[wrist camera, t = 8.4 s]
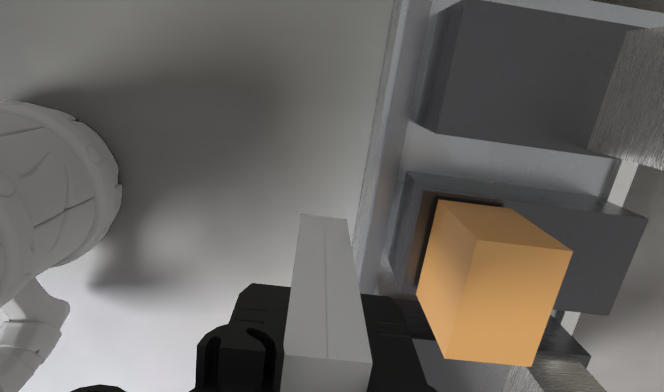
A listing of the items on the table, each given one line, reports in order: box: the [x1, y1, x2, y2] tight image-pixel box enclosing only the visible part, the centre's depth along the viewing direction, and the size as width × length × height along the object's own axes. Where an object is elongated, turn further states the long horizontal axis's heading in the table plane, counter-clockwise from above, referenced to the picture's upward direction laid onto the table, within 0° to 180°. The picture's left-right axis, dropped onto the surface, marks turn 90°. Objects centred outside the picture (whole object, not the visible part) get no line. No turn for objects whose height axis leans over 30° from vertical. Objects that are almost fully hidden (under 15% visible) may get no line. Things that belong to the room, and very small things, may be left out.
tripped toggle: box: [416, 199, 573, 367], centre depth 13 cm, size 3×4×4 cm
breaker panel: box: [352, 0, 664, 392], centre depth 16 cm, size 12×20×9 cm, turn 172°
